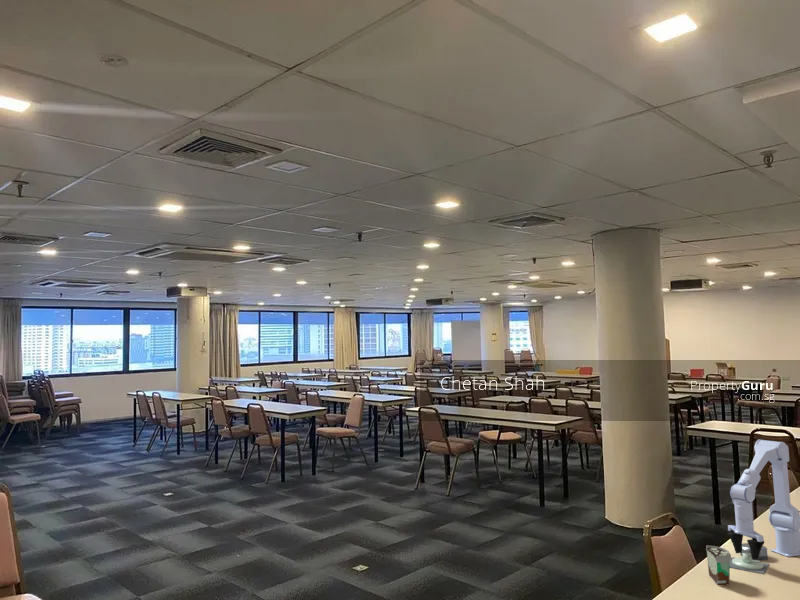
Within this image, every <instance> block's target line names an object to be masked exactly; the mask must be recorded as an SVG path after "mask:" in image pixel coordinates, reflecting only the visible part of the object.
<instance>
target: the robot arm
mask: <svg viewBox="0 0 800 600" xmlns="http://www.w3.org/2000/svg"><path fill="white" fill-rule="evenodd" d="M753 449H754V454H755V455H754V456H753V459H752V461H751V464H750V466H749V468H746V469H744V470H743V472H742V474H741V476H740V478H738V479H739V480H738V482H737V483H735V484H733V485H732V486H731V487H730V491H729V495H730V497H731V499H732V503H733V505H734V516H735V518H734V519H735V524H734V525H733V524H728V525H727V531H729V532H727V536H728V538H729V539H730V541H731V543H732V545H733V548H734V551H735V554H740V553H742V544H743V538H744V537H747V538H749V539H747V542H746V543H748V544H749V546H750V550H751V557H752V560H758V558H759V554H760V550H761V548H762V546H764V544H765V540H764V539H765V538H764V535H762V534H760V533H758V532H757V531H755V525H754V514H753V513H754V512H753V501H754V500H755V499H756V491H757V490H756V488H757V486H758V485H759V482H760V481H761V478H762V477H761V475H760V473H761V472H762V470H763V469H764V467H765V466H766V464H767V463H768V462H769V463H771V469H772V470H771V471H772V482H773V483H772V484H773V491H774V493H773V495H774V504H772V505H770V506H769V513H768V522H769V523H770V525H772V528H773V529H774V530H775V531H774V535H775V545H776V546H775V547H776V548H771V549H770V551H771V552H774V553H777V554H780V555H782V556H784V557H788V558H790V557H798V556H800V510H799V509H798V508H796V507H795V506H794V505H793V504H792V502H791V494H790V481H789V480H790V479H789V470H788V468H789V467H788V463H789V462H790V452H789V451H790V450H789V445H788V444H787V443H785V442H784V441H775V440H765V439H757V440H756V442H755V443H754V447H753ZM758 561H759V560H758Z"/></svg>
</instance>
